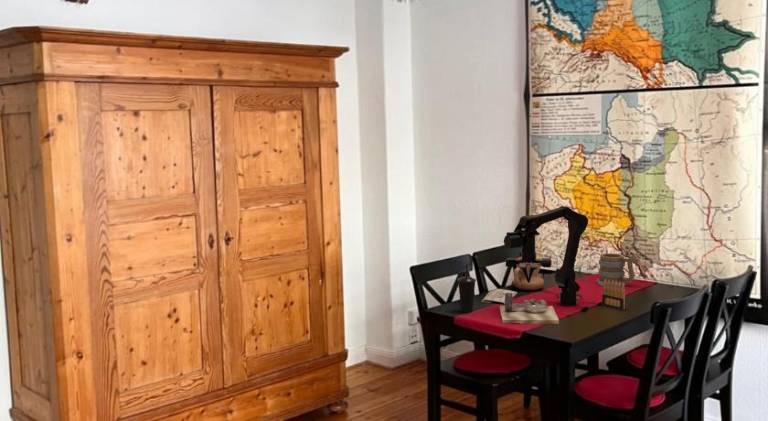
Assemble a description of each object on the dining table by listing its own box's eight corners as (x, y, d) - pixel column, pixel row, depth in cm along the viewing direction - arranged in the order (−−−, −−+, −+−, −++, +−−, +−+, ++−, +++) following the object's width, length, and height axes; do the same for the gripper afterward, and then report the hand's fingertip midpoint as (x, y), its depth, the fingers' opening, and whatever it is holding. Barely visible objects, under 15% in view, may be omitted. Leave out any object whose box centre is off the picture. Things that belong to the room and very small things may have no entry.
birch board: (552, 309, 335) (552, 305, 335) (558, 324, 313) (559, 319, 313) (499, 309, 337) (499, 305, 337) (502, 323, 315) (502, 319, 315)
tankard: (592, 284, 380) (593, 253, 378) (606, 279, 389) (607, 249, 387) (630, 290, 366) (631, 258, 363) (644, 286, 374) (645, 255, 372)
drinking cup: (464, 314, 329) (464, 267, 327) (454, 310, 336) (454, 263, 333) (479, 312, 333) (479, 265, 330) (469, 308, 340) (469, 262, 337)
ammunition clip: (625, 309, 333) (626, 281, 331) (623, 310, 332) (624, 282, 330) (604, 305, 341) (604, 277, 340) (601, 305, 340) (602, 278, 338)
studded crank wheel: (543, 307, 332) (543, 290, 331) (548, 312, 323) (548, 295, 322) (502, 308, 332) (503, 291, 331) (507, 313, 323) (507, 296, 322)
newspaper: (491, 292, 369) (491, 287, 369) (516, 297, 365) (517, 291, 364) (477, 303, 349) (477, 298, 348) (504, 308, 344) (504, 303, 344)
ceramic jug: (529, 283, 383) (529, 254, 381) (552, 288, 372) (552, 259, 370) (502, 289, 373) (502, 259, 371) (525, 294, 361) (525, 264, 359)
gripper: (552, 242, 338) (552, 278, 340) (508, 242, 343) (508, 277, 345) (550, 247, 327) (550, 284, 329) (505, 247, 332) (505, 283, 334)
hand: (528, 282), depth 335 cm, fingers closed
